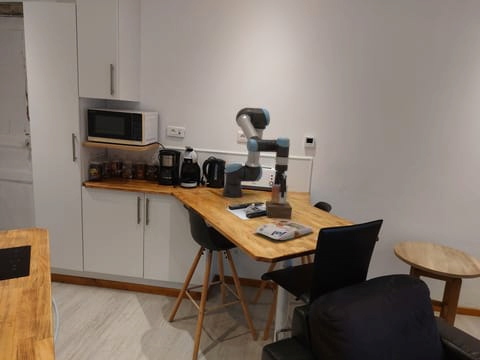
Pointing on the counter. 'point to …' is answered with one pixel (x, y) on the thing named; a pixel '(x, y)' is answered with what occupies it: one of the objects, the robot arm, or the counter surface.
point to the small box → (277, 194)
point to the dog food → (283, 229)
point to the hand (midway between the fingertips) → (278, 200)
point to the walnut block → (278, 210)
